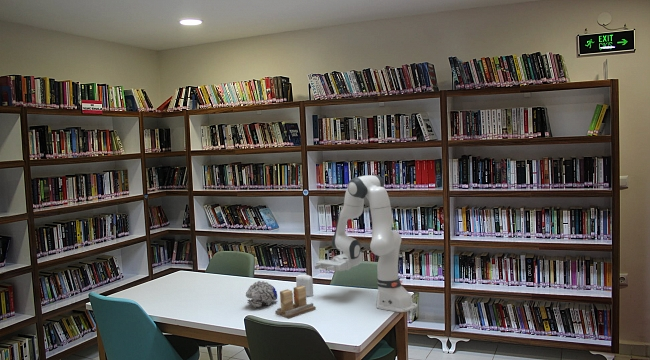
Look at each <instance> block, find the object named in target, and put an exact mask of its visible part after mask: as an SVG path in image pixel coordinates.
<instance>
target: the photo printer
mask: <svg viewBox="0 0 650 360" xmlns="http://www.w3.org/2000/svg"><path fill="white" fill-rule="evenodd" d="M295 277H296V278H295V280H296V281H295V282H296V286H295V287H297V286H305V288H306V297H309V298H310V297H311V298H312V297H313V296H314V284H313V283H314V281H313V280H314V279H313V276H311V275H309V274H304V273H303V274H297V275H296V276H295Z"/></svg>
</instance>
